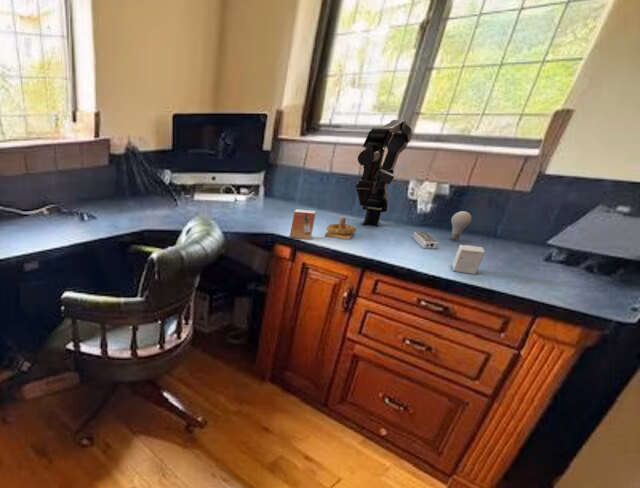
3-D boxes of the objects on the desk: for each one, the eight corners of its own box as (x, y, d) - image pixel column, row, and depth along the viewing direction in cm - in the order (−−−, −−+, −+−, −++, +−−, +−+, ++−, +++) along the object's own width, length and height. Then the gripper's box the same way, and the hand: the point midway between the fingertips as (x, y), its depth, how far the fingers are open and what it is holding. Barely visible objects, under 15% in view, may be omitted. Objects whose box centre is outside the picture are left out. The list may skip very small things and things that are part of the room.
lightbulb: (457, 243, 161) (468, 214, 156) (441, 239, 166) (451, 211, 161) (466, 240, 164) (477, 212, 158) (450, 237, 168) (460, 209, 163)
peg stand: (330, 231, 179) (333, 214, 176) (353, 234, 175) (357, 216, 171) (325, 236, 173) (329, 219, 169) (349, 239, 168) (353, 221, 165)
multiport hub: (425, 238, 168) (426, 232, 167) (436, 248, 156) (438, 242, 155) (412, 237, 169) (414, 231, 168) (423, 247, 157) (425, 241, 156)
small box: (289, 237, 173) (293, 211, 168) (291, 234, 177) (295, 208, 172) (309, 239, 169) (315, 213, 164) (311, 236, 174) (316, 210, 169)
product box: (452, 271, 135) (460, 249, 132) (451, 265, 140) (459, 244, 136) (476, 274, 132) (485, 251, 129) (474, 268, 137) (483, 246, 133)
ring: (329, 227, 180) (330, 221, 179) (357, 230, 175) (358, 225, 174) (323, 233, 173) (324, 227, 172) (352, 237, 167) (353, 231, 166)
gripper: (393, 167, 154) (382, 210, 162) (400, 160, 167) (389, 200, 175) (360, 165, 160) (351, 207, 168) (369, 159, 173) (360, 198, 181)
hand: (363, 203), depth 173 cm, fingers open, 9 cm apart
